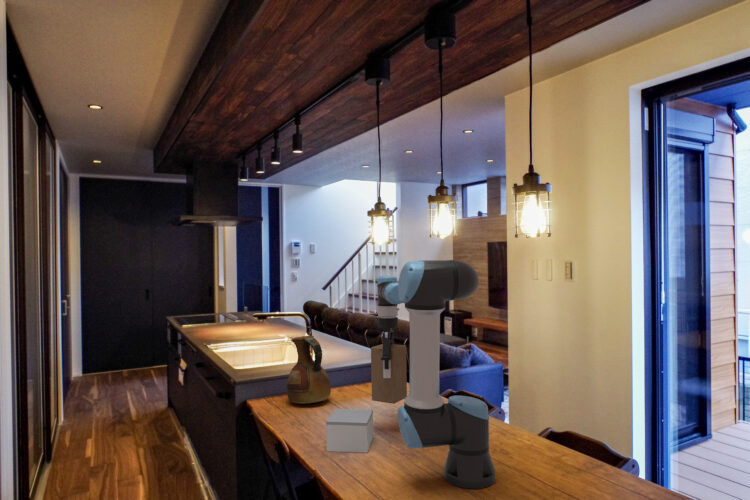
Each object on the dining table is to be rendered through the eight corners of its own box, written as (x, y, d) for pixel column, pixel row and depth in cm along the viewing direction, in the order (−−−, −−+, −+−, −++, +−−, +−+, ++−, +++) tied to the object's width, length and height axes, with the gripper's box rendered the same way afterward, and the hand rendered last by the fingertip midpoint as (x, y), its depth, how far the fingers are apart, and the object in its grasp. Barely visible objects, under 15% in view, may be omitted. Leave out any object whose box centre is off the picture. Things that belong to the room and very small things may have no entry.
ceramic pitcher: (307, 393, 241) (306, 330, 241) (340, 400, 230) (339, 334, 230) (277, 404, 225) (276, 336, 226) (310, 411, 214) (309, 341, 214)
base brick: (367, 452, 169) (366, 422, 169) (326, 451, 171) (326, 421, 171) (373, 437, 183) (372, 409, 183) (335, 436, 185) (335, 408, 185)
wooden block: (394, 404, 184) (393, 349, 184) (371, 400, 189) (370, 347, 190) (407, 397, 192) (406, 345, 193) (384, 394, 198) (383, 343, 198)
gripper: (394, 320, 179) (395, 381, 178) (400, 313, 203) (401, 366, 203) (373, 320, 180) (374, 381, 179) (382, 313, 204) (383, 366, 204)
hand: (389, 373), depth 191 cm, fingers closed on wooden block, 12 cm apart
